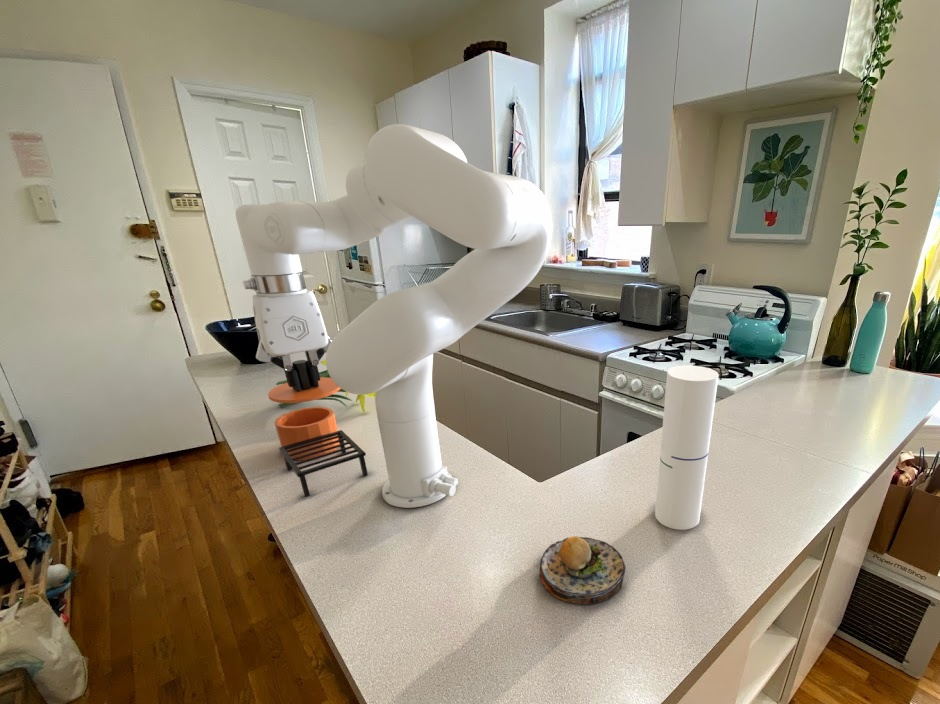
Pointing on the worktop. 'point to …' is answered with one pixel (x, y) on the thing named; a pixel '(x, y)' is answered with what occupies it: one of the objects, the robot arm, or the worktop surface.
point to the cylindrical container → (685, 444)
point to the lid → (303, 387)
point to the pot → (306, 428)
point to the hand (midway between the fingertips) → (305, 386)
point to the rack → (341, 438)
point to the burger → (582, 570)
